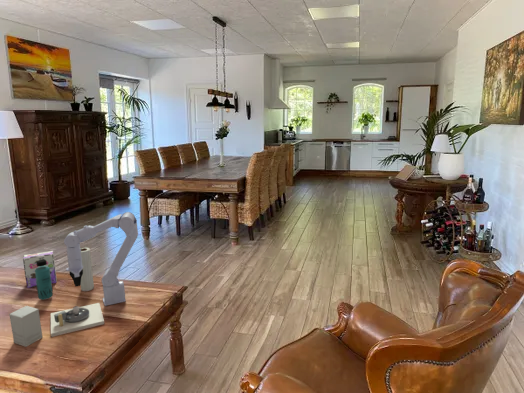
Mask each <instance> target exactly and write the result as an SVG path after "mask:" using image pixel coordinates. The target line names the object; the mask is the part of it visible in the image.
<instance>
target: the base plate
mask: <svg viewBox="0 0 524 393" xmlns="http://www.w3.org/2000/svg"><path fill="white" fill-rule="evenodd" d="M79 308H86V309H88V310H89V316H88V317H87V318H86V319H84V320H82V321H79V322H73V323H69V322H66V321H64V320H63V318H62V314H59V315H58V317H59V322H58V323H57V322H55V317H54V315H55V314H57V313H60V312H63V311H65V312H66V313H67V312H68V311H70V310H73V314H74V315H77V314H79ZM101 325H105V320H104V316H103V312H102V308H101V304H100V302H97V303H92V304H87V305H84V306H76V305H75V306H73V307H72V308H69V309H63V310H60V311H56V312H51V313H50V336H51V338H52V337H56V336H60V335H64V334H69V333H73V332H76V331H81V330H85V329H90V328H94V327H98V326H101Z"/></svg>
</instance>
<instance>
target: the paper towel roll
mask: <svg viewBox="0 0 524 393" xmlns="http://www.w3.org/2000/svg"><path fill="white" fill-rule="evenodd" d="M80 248H81V247H80ZM81 257H82V266H83V275H82V277H81V285H80V290H81V291H82V292H88V291H89V292H90V291H91V290H94V288H95V286H94V283H95V282H94V274H93V266H92V254H91V248H90V247H87V246H84V247H82V248H81Z"/></svg>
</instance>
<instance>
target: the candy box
mask: <svg viewBox="0 0 524 393" xmlns="http://www.w3.org/2000/svg"><path fill="white" fill-rule="evenodd" d="M38 260H46V262H47V264H46V265H44V266H48V267H49V268H50V276H51V283H52V284H56V283H57V282H58V281H57V280H58V279H57V272H56V264H55V255H54V250H49V251H43V252H36V253H30V254H29V253H28V254H23V257H22V261H23V270H24V275H25V276H24V277H25V284H26V288H27V289H28V288H29V289H30V288H34V287H37V284H36V275H35V270H36V269H37V268H38V267H40V266H37V261H38Z"/></svg>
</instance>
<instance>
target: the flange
mask: <svg viewBox="0 0 524 393" xmlns="http://www.w3.org/2000/svg"><path fill="white" fill-rule="evenodd" d="M62 311H63V310H62ZM59 314H62V318H63V320H64V321H66V322H69V323H73V322H79V321H82V320H84V319H86V318H87V317H88V316H89V310H88V309H86V308H79V314H77V315H74V314H73V310H70V311H68V312H67V313H66V312H65V311H63V312H60V313H57V314H55V315H54V317H55V322H57V323H58V322H59V317H58V315H59Z"/></svg>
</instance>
